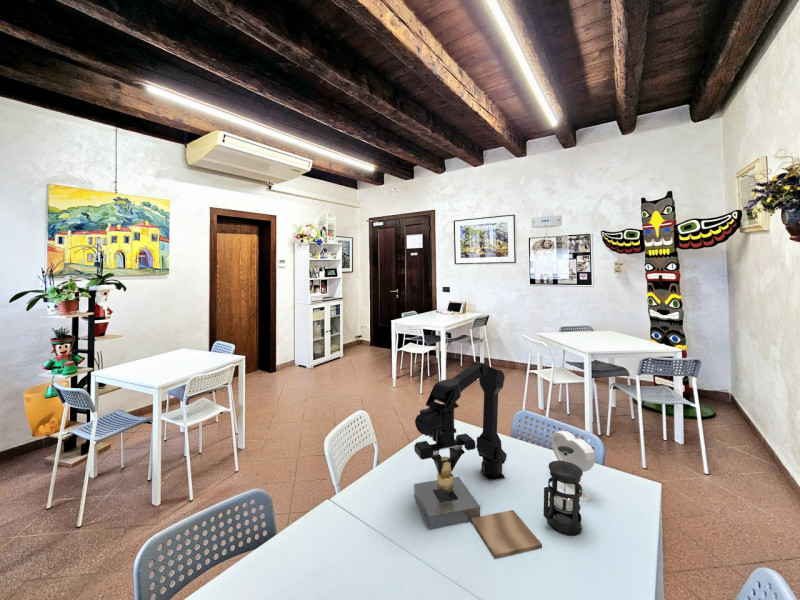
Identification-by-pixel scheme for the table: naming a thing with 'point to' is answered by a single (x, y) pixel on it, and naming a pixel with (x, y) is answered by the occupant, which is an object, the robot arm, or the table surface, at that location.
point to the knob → (445, 476)
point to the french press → (563, 495)
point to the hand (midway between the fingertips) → (445, 471)
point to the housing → (445, 504)
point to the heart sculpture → (573, 455)
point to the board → (505, 534)
